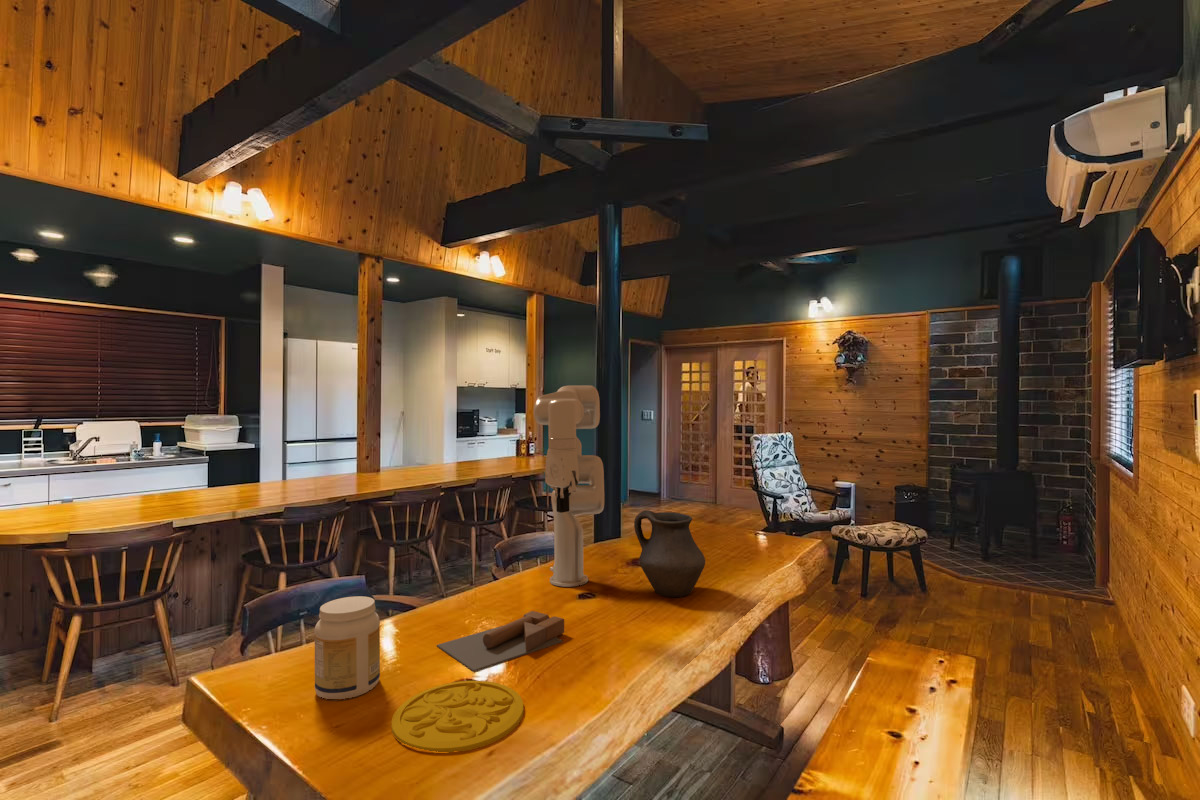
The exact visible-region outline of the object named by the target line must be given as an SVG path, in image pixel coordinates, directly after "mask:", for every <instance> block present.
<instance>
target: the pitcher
mask: <svg viewBox="0 0 1200 800" xmlns="http://www.w3.org/2000/svg"><path fill="white" fill-rule="evenodd" d="M645 519H646V520H648V521H649V522H650V524H651V533H650V537H649V538H646V537H645V535H644V533H643V529H642V520H645ZM692 521H693V517H692V516H690V515H689V514H683V513H679V512H672V511H669V512H666V511H665V512H664V511H663V512H662V511H660V512H653V511H652V510H642V511H640V512H639V513H638V514H637V515H636V516H635V518H634V522H633V524H634V525H633V528H634V531H635V532H634V533H635V535H636V538H637V541H638V542H639V545H640V548H641V552H640V555H639V557H638V562H639V566H640V567H641V570H642V571H643V573H644V574H645V576H646V578H647V580H648V582H649V583H650V585H651V587H652V589H653V590H654V592H655V594H656V593H657V594H656V595H658V594H659V595H658V596H661V595H662V597H666V598H667V597H668V598H675V597H676V598H684V597H686V596H689V595H690V594H691V593H692V592H693V590H694V588H695V586H696V584H697V583H698V581H699V579H700V576H701V575H702V573H703V570H704V568H705V566H706V559H705V556H704V553H703V551H702V550H701V549H700V548H699V546H698V545H697V543H696V542H695V540H694V537H693V535H692V532H691V529H690V524H691V522H692Z"/></svg>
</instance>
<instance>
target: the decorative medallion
mask: <svg viewBox="0 0 1200 800" xmlns="http://www.w3.org/2000/svg"><path fill="white" fill-rule="evenodd" d="M523 716H524V701H523V699H522V696H520V694H519V693H518V692H517V691H516V690H514V689H513V688H511V687H509V686H507V685H505V684H501V683H498V682H494V681H487V680H462V681H455V682H454V681H453V682H449V683H444V684H440V685H436V686H433V687H429V688H428V689H427V688H426V689H425V690H423V691H420V692H418V693H417V694H414V695H412V696H411V697H409V698H408V699H407V700H405V701H404V702H403V703H402V704H400V706H399V707H397V709H396V710H395V711H394V713H393V715H392V718H391V724H392V725H391V728H392V731H391V733H393V734H394V736H395V737H396V738H397V739H398V740H399V741H401V742H402V743H404V744H407V745H409V746H412V747H416V748H419V749H424V750H429V751H436V752H437V751H438V752H454V751H463V752H467V751H466V750H468V751H472V749H473V750H476V749H479V748H478V747H480V748H482V746H483V747H485V746H488V745H491V744H492V743H495V742H497V741H499V740H500V739H502V738H504V737H506V736H507V735H508V734H510V733H511V732H512V731H513V730H514V729H515V728H516V727H517V726H518V725H519V724H520V722H521V720H522V719H523ZM393 734H392V735H393ZM394 736H393V737H394ZM475 748H476V749H475Z"/></svg>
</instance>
